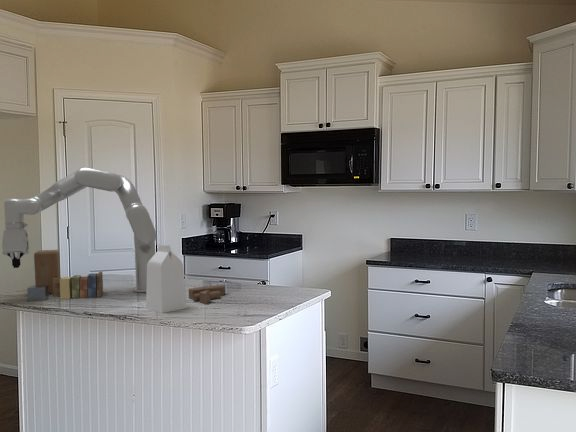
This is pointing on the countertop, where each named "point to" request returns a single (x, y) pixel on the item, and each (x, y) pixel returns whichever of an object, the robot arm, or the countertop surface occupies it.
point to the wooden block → (46, 267)
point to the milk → (165, 282)
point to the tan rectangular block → (65, 287)
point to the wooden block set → (206, 293)
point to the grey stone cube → (38, 292)
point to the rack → (83, 286)
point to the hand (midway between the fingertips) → (16, 267)
